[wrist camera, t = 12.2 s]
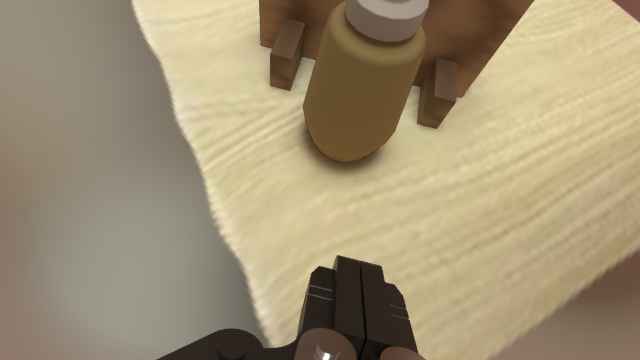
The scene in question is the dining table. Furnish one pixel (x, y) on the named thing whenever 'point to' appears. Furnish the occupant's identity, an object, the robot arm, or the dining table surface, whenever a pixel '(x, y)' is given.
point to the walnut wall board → (440, 52)
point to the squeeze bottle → (363, 75)
